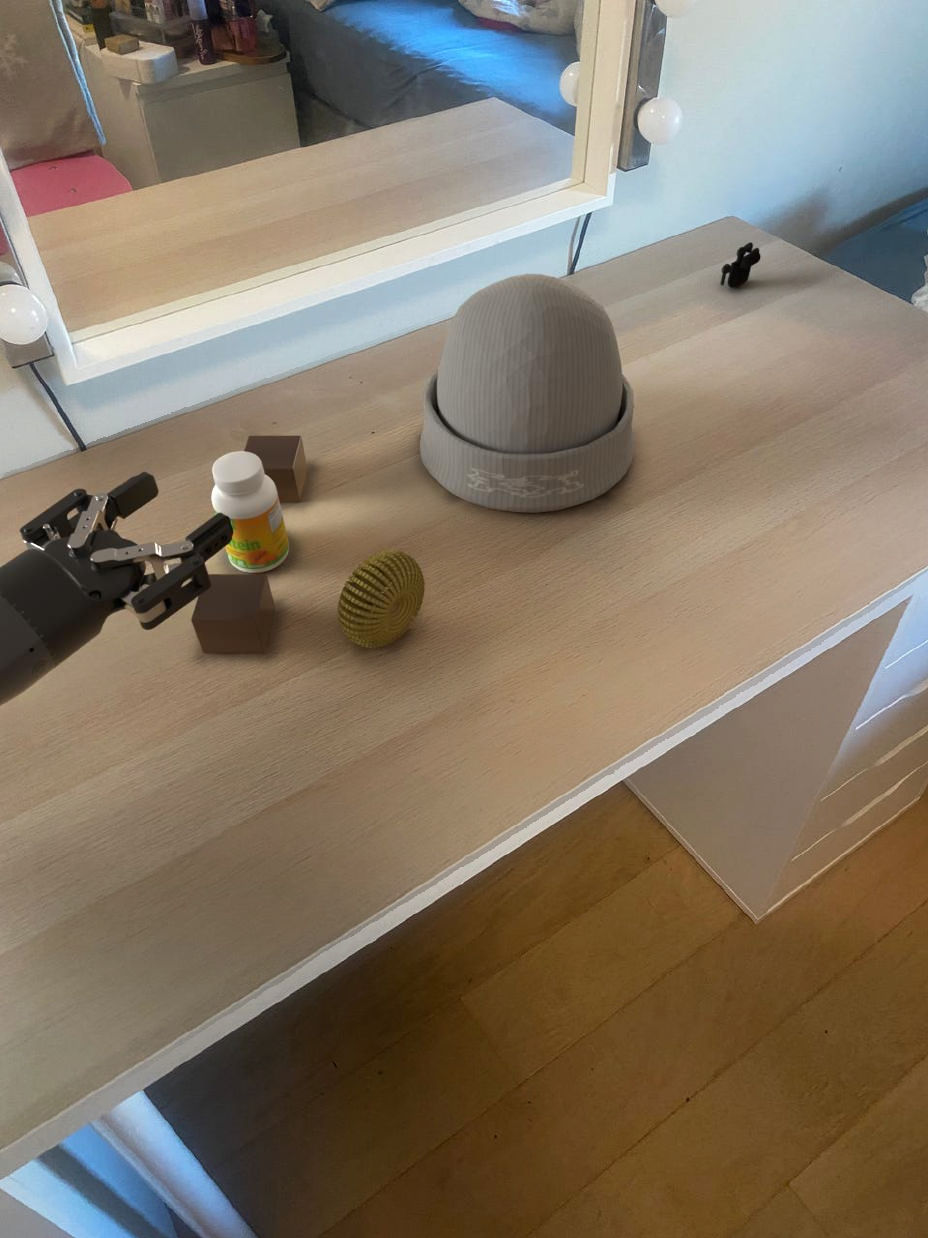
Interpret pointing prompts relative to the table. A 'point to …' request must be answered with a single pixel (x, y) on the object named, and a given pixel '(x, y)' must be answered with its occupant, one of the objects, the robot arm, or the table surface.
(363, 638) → the sculpture
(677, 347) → the table surface
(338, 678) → the table surface
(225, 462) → the supplement bottle
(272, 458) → the block far
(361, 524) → the table surface
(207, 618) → the block near
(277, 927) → the table surface
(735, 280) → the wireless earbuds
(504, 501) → the beanie hat
